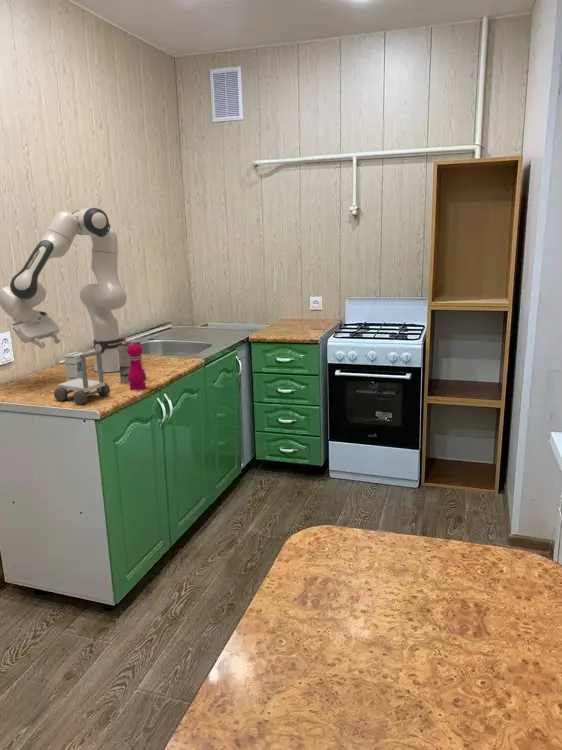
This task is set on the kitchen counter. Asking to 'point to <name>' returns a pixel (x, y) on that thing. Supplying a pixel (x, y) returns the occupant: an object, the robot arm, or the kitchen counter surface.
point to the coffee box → (124, 361)
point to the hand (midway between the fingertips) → (51, 344)
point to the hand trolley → (83, 383)
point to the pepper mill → (136, 367)
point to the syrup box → (73, 366)
